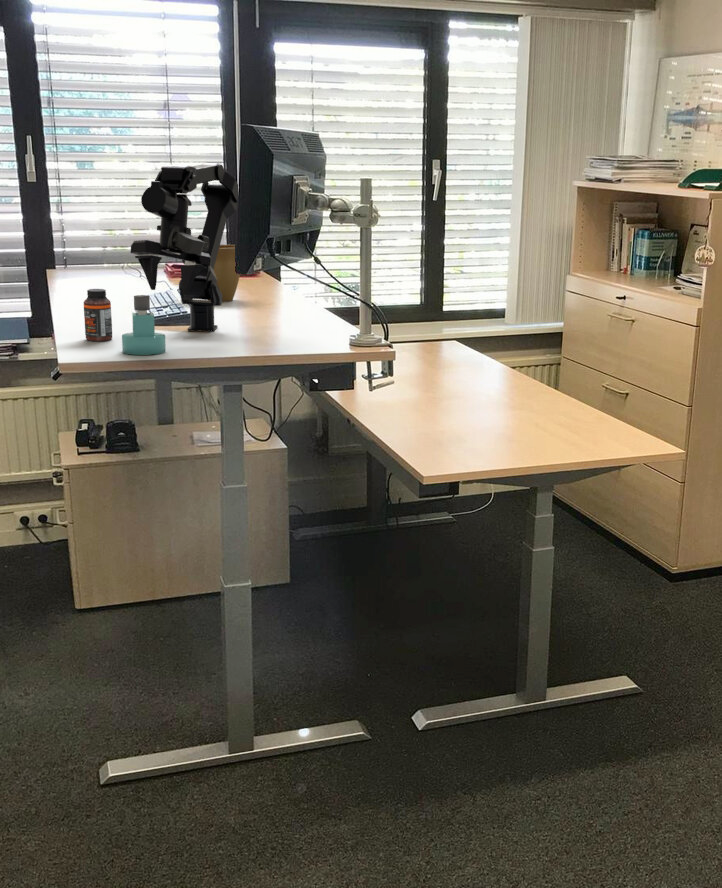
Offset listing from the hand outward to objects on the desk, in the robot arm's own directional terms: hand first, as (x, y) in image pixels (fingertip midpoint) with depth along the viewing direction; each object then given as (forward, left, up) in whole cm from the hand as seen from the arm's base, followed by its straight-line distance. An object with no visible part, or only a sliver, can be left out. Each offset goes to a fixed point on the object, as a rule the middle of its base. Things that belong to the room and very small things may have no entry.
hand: (169, 292), depth 206 cm
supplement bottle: (0, -16, -11) cm, 20 cm away
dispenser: (+13, -3, -11) cm, 17 cm away
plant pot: (-68, +2, -11) cm, 69 cm away
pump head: (+13, -3, -7) cm, 15 cm away
